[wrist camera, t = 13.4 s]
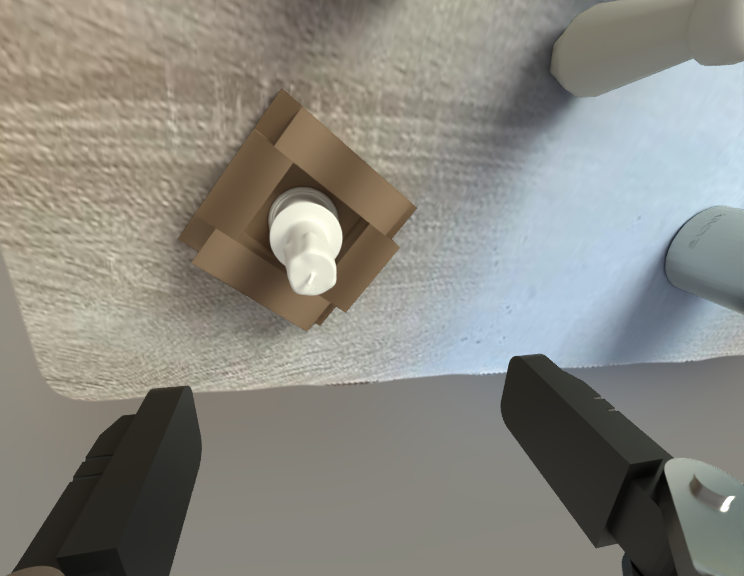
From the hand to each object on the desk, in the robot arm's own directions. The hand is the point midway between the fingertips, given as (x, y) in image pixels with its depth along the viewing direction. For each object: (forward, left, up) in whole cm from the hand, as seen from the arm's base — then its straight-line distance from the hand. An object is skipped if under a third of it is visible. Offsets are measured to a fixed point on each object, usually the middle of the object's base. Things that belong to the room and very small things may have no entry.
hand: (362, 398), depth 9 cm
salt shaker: (-9, -22, -22) cm, 33 cm away
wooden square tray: (0, +1, -22) cm, 22 cm away
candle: (0, +1, -21) cm, 21 cm away
